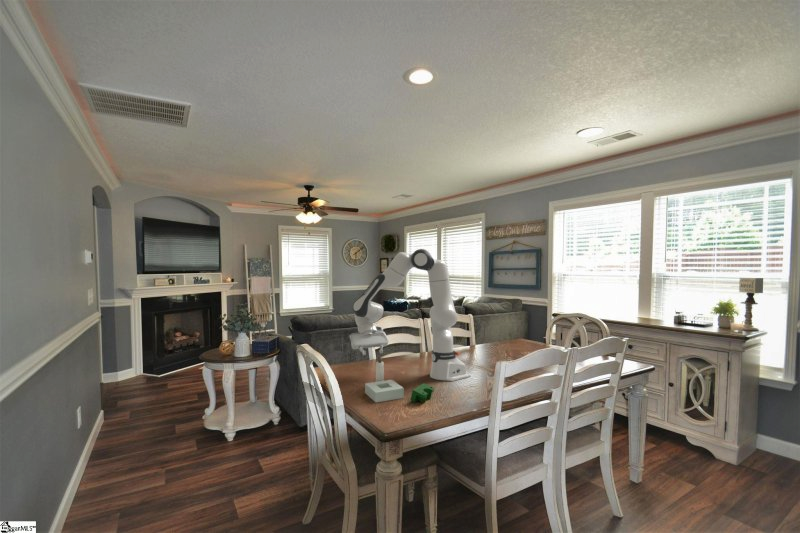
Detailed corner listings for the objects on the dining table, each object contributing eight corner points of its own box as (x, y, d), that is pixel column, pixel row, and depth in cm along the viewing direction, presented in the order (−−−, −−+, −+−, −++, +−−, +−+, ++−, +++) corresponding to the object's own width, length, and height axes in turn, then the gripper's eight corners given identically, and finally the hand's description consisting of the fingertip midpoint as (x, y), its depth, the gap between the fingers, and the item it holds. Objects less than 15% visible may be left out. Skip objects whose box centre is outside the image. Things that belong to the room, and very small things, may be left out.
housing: (391, 388, 187) (391, 379, 187) (403, 397, 175) (403, 388, 175) (365, 392, 181) (365, 383, 181) (375, 402, 169) (375, 392, 169)
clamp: (421, 412, 168) (422, 398, 164) (410, 407, 171) (410, 392, 167) (434, 395, 177) (435, 381, 173) (423, 390, 180) (424, 375, 176)
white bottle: (382, 384, 194) (382, 357, 194) (385, 386, 190) (384, 358, 190) (374, 385, 192) (374, 358, 192) (377, 387, 188) (377, 359, 188)
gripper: (349, 330, 202) (355, 352, 193) (385, 327, 210) (392, 348, 202) (347, 336, 206) (352, 359, 197) (382, 333, 214) (389, 354, 206)
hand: (373, 353), depth 199 cm, fingers open, 8 cm apart
